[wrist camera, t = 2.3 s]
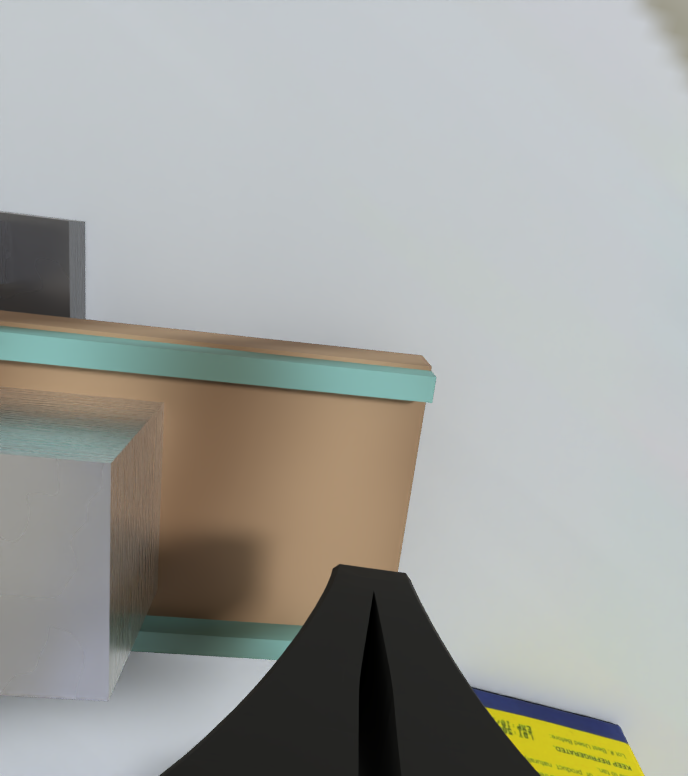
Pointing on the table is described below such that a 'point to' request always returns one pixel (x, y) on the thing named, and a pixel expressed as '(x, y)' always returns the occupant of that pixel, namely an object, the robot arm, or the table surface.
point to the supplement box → (562, 739)
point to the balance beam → (247, 465)
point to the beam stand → (42, 265)
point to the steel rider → (75, 538)
